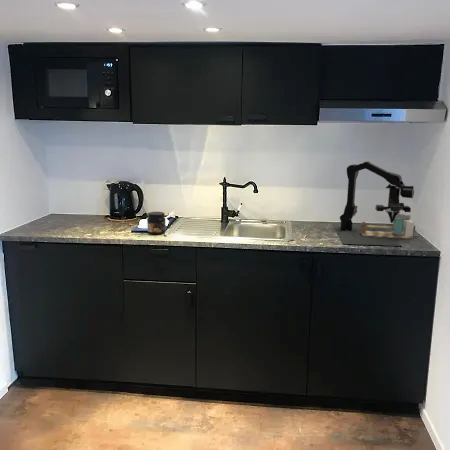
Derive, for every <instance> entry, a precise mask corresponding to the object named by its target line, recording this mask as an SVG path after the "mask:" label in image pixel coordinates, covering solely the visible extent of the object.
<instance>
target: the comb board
mask: <svg viewBox="0 0 450 450" xmlns="http://www.w3.org/2000/svg"><path fill="white" fill-rule="evenodd" d="M366 225H367V223H366V221H361V226H360V227H361V229H360V231H359V232H360V235H361V236H362V237H365V236H373V237H372V238H386V239H387V238H388V239H389V238H391V239H414V235H413V236H405V235H404V234H403V231H402V235H396V234H394V233H393V232H392V231H378V230H374V231H372V230H367V227H366Z"/></svg>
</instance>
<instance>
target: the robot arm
mask: <svg viewBox="0 0 450 450" xmlns="http://www.w3.org/2000/svg"><path fill="white" fill-rule="evenodd" d="M365 169H366V170H368V171H370V172H371V173H374V174H376V175H377V176H378V177H381V178H383V179H384V180H385V181H387V183H389V184H388V185H386V187H385V188H386V189H389V191H388V200H387V202H388V203H387V206H384V205H383V204H376V205H375V207H374V208H375V211H376V212H384V211H385V212H386V213H387V216H388V219H389V221H390V224H393V221H394V219H395V217H396V215H397V214H401V212H400V211H404V213H411V212H412V211H411V210H412V209H411V206H409V205H405V203H404V202H400V196H401V198H407V199H413V198H414V194H415V188H414V187H415V186H414V185H405V183H404V181H403V179H402V176H401V175H400V174H398V173H394V172H390V171H387V170H385V169H384V168H381V167H380V166H377V164H373V163H371V162H370V161H364V162H362V163H358V164H355V163H354V164H353V163H352V164H350V165H348V166H347V167H346V175H347V176H346V177H347V179H348V180H347V181H348V182H347V183H348V184H347V197H346V205H345V207H344V210H343V214H341V215H340V216H339V220H340V225H339V231H352V229H353V220H352V219H353V218H354V217H355V216H356V214H357V213H358V205H356V204H355V202H356V200H355V198H356V186H357V184H356V183H357V178H358V176H359V173H360V171H363V170H365Z"/></svg>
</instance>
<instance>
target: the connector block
mask: <svg viewBox="0 0 450 450" xmlns="http://www.w3.org/2000/svg"><path fill="white" fill-rule="evenodd" d="M403 227H405V229H403V231H402V232H403V234H404V235H405V236H413V237H414V235H413V234H414V232H416V225H414V221H413V220H411V219H410V220H404V223H403Z"/></svg>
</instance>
